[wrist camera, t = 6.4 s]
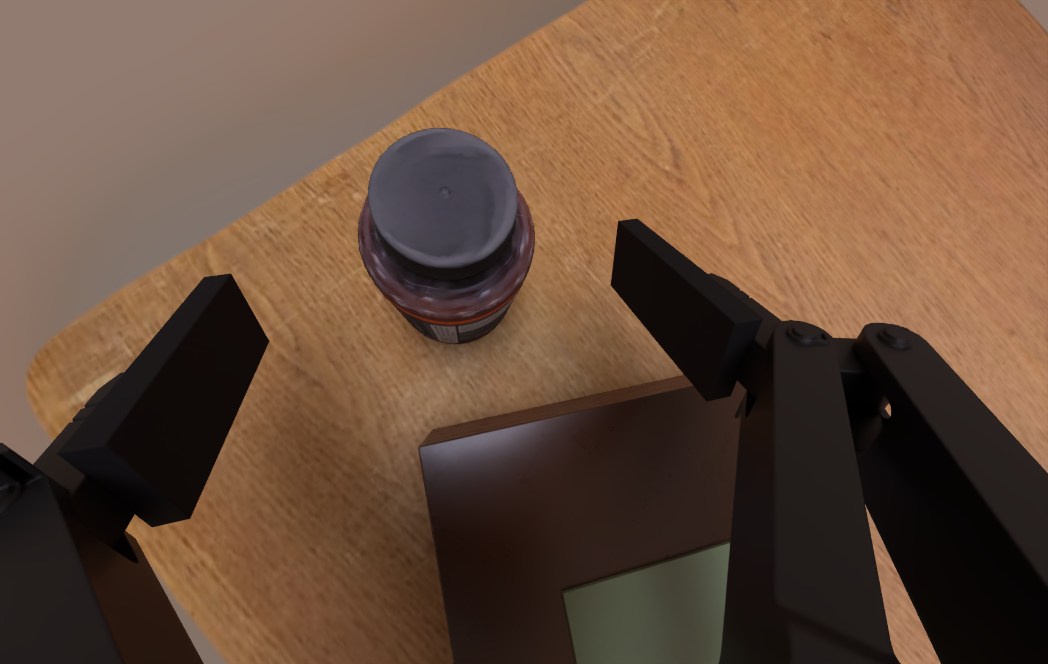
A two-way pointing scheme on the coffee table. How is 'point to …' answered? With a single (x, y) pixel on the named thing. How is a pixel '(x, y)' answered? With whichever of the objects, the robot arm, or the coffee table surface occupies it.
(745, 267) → the coffee table surface
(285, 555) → the coffee table surface
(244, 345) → the robot arm
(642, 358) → the coffee table surface
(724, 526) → the dark wooden box
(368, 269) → the supplement bottle
